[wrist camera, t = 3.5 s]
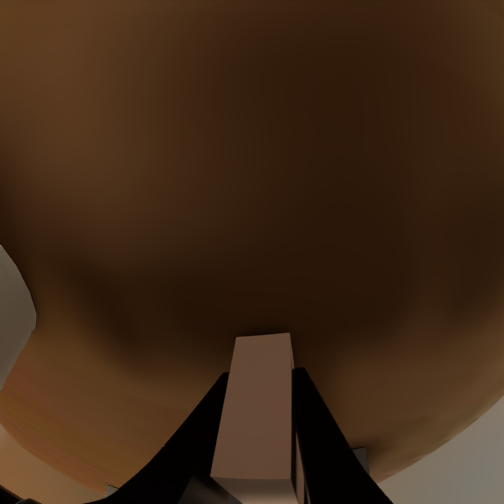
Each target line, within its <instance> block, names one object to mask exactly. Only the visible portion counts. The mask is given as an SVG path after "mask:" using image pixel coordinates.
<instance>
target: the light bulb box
mask: <svg viewBox="0 0 504 504" xmlns="http://www.w3.org/2000/svg"><path fill="white" fill-rule="evenodd" d="M116 490H118V489H117V488H114V487H112V486H109V485H108V487H107V490H106V493H105V496H104V498H106V497H108V496H109V495H111V494H113V493H114V492H115V491H116Z"/></svg>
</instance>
